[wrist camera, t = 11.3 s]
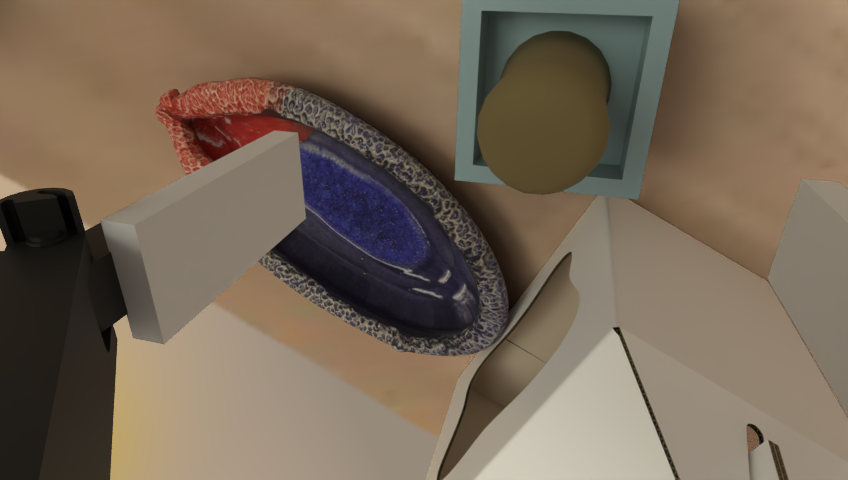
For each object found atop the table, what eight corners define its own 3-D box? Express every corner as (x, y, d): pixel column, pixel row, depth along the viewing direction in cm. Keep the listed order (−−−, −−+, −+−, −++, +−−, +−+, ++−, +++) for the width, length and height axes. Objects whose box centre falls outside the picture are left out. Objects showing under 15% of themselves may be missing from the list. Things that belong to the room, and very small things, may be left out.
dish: (445, 368, 48) (431, 407, 44) (165, 153, 46) (122, 171, 42) (565, 256, 41) (562, 289, 36) (236, -8, 39) (191, -6, 34)
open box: (489, -16, 34) (462, -13, 27) (659, -12, 32) (681, -7, 24) (480, 140, 38) (454, 180, 31) (628, 153, 36) (638, 199, 29)
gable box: (583, 456, 48) (578, 941, 24) (456, 380, 48) (323, 786, 24) (772, 279, 37) (1116, 849, 13) (606, 181, 37) (639, 563, 13)
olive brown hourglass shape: (611, 22, 28) (625, 47, 18) (611, 138, 30) (623, 213, 21) (494, 37, 30) (450, 67, 20) (503, 145, 32) (467, 218, 22)
